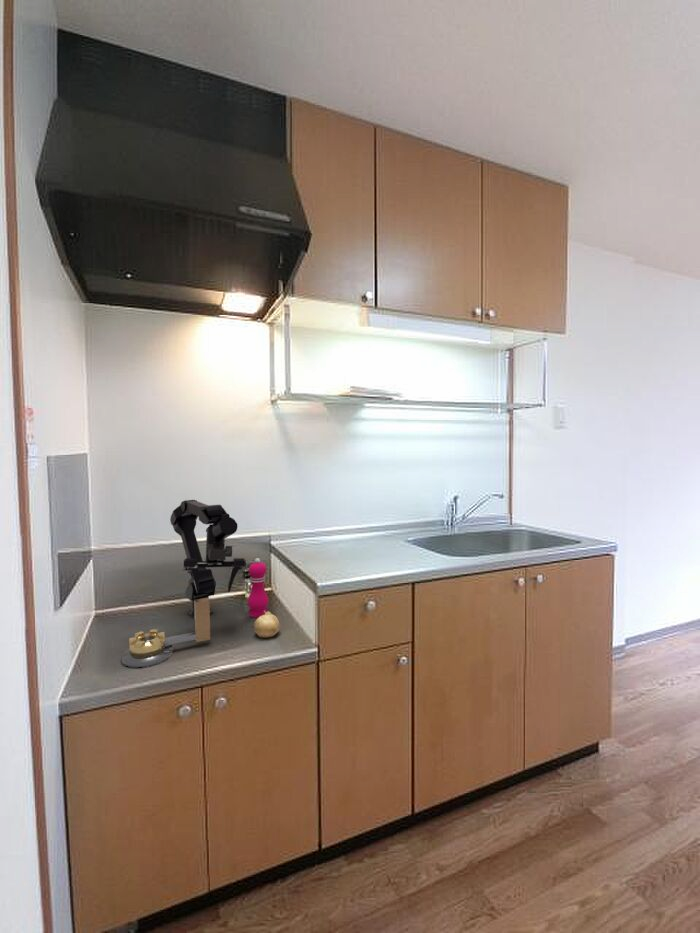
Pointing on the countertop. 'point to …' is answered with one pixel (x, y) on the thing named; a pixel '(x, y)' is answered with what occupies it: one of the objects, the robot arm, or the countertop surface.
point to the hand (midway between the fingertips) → (213, 592)
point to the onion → (266, 625)
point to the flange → (147, 661)
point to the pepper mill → (257, 590)
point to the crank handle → (156, 641)
